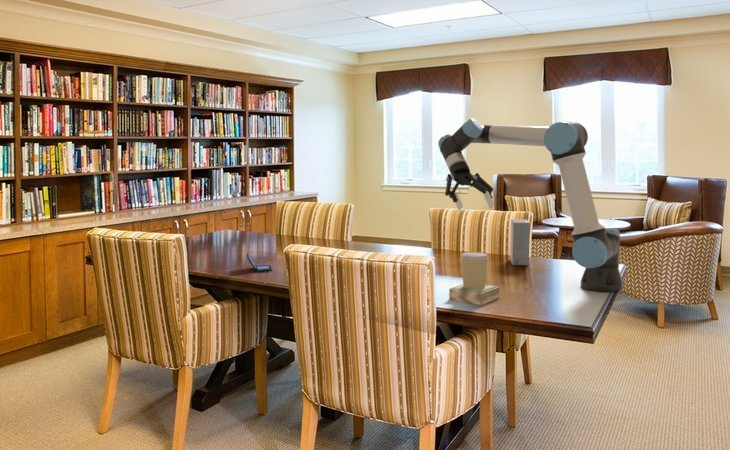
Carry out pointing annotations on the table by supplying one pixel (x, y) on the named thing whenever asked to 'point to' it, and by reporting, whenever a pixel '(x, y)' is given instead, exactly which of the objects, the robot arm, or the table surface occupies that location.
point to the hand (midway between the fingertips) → (476, 207)
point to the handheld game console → (259, 268)
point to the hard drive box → (519, 242)
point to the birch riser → (474, 294)
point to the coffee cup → (474, 270)
